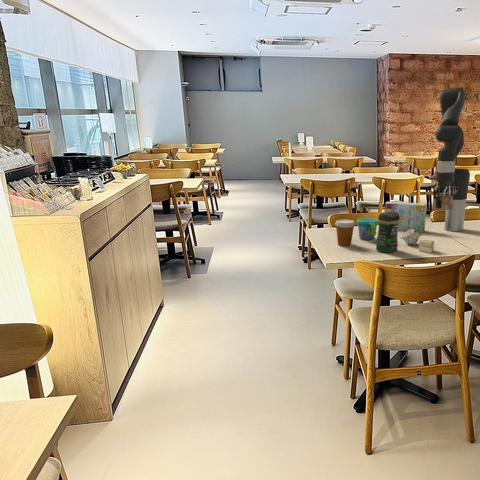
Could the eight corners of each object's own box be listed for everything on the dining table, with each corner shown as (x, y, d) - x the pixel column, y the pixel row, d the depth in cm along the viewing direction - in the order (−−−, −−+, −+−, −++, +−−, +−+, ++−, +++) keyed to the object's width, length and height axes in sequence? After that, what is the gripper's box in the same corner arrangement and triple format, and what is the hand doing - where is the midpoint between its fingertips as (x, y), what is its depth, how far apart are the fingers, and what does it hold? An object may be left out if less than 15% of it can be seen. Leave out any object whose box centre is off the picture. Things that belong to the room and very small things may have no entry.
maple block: (422, 248, 205) (423, 238, 204) (433, 250, 202) (434, 240, 201) (418, 251, 202) (419, 241, 201) (430, 253, 199) (430, 242, 197)
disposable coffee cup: (330, 243, 219) (331, 220, 216) (346, 241, 223) (347, 218, 220) (342, 248, 211) (342, 224, 207) (358, 245, 214) (359, 221, 211)
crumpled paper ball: (413, 252, 213) (423, 239, 205) (397, 246, 213) (406, 233, 206) (415, 239, 218) (425, 226, 211) (399, 233, 219) (408, 220, 211)
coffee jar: (387, 254, 199) (389, 214, 194) (373, 250, 205) (375, 212, 200) (400, 250, 204) (403, 211, 199) (386, 246, 210) (388, 209, 205)
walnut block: (439, 207, 206) (440, 194, 205) (451, 208, 202) (453, 196, 200) (432, 208, 203) (433, 196, 201) (444, 210, 198) (445, 197, 197)
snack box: (424, 230, 238) (427, 203, 234) (422, 232, 234) (425, 205, 230) (385, 226, 249) (386, 201, 245) (382, 229, 245) (384, 202, 241)
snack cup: (352, 235, 233) (353, 216, 231) (371, 234, 234) (372, 216, 231) (361, 243, 218) (362, 223, 216) (382, 242, 218) (383, 222, 216)
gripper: (446, 168, 205) (443, 203, 209) (428, 171, 197) (425, 208, 201) (461, 169, 199) (458, 206, 203) (444, 172, 191) (441, 210, 195)
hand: (442, 206), depth 202 cm, fingers closed on walnut block, 6 cm apart
